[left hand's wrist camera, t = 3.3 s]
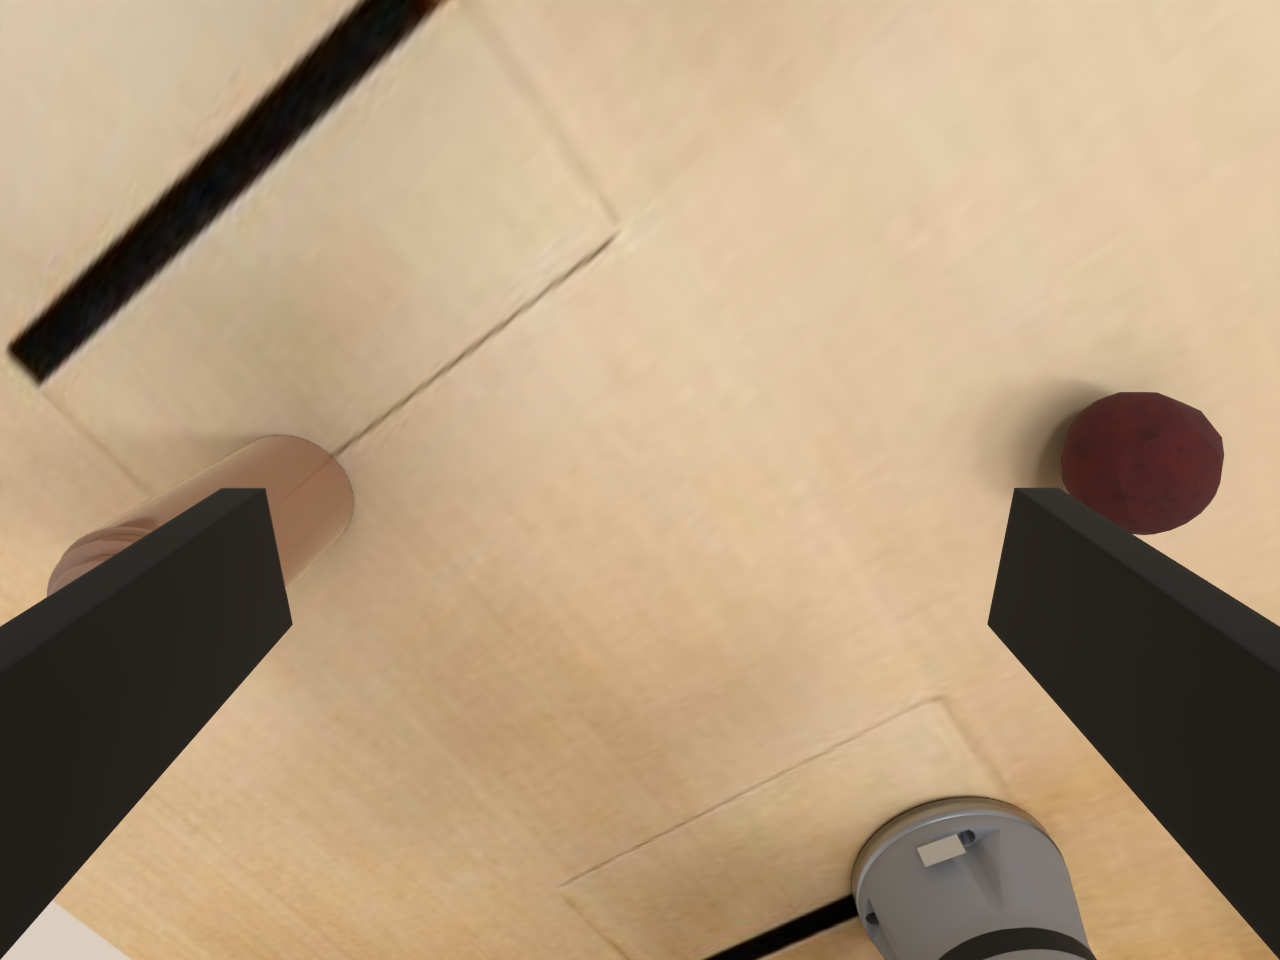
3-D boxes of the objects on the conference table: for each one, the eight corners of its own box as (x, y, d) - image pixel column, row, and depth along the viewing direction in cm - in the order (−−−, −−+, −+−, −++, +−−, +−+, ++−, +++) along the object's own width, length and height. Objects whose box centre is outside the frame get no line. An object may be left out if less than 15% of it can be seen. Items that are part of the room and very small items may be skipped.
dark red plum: (1064, 524, 42) (1142, 579, 36) (1013, 422, 40) (1086, 461, 34) (1181, 461, 41) (1285, 506, 34) (1136, 352, 39) (1237, 377, 32)
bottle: (283, 409, 40) (-6, 558, 22) (379, 501, 42) (186, 706, 24) (202, 487, 42) (-127, 684, 24) (298, 572, 44) (61, 813, 26)
